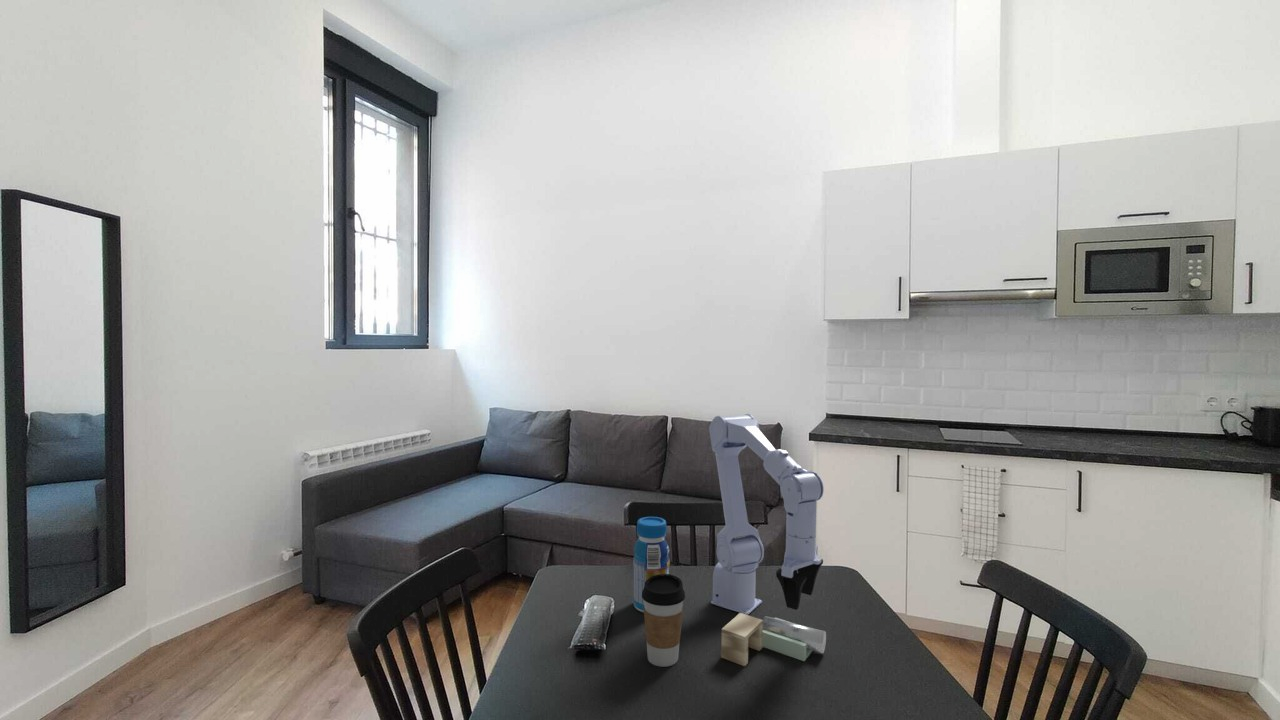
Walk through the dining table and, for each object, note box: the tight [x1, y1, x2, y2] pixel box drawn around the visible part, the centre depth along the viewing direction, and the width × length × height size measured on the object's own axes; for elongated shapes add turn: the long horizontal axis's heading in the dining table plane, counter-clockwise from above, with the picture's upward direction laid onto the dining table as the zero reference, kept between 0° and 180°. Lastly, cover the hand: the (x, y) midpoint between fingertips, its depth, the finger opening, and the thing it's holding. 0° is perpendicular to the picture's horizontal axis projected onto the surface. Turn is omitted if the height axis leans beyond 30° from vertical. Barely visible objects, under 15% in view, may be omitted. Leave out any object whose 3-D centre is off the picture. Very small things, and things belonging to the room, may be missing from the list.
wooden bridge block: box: [720, 612, 763, 667], centre depth 113 cm, size 5×8×6 cm, turn 144°
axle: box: [762, 615, 827, 654], centre depth 115 cm, size 12×4×4 cm, turn 60°
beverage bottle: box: [632, 516, 671, 613], centre depth 132 cm, size 8×8×20 cm
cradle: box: [762, 617, 813, 662], centre depth 116 cm, size 9×7×3 cm
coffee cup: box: [642, 573, 686, 668], centre depth 111 cm, size 8×8×15 cm
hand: (799, 600), depth 114 cm, fingers open, 7 cm apart
